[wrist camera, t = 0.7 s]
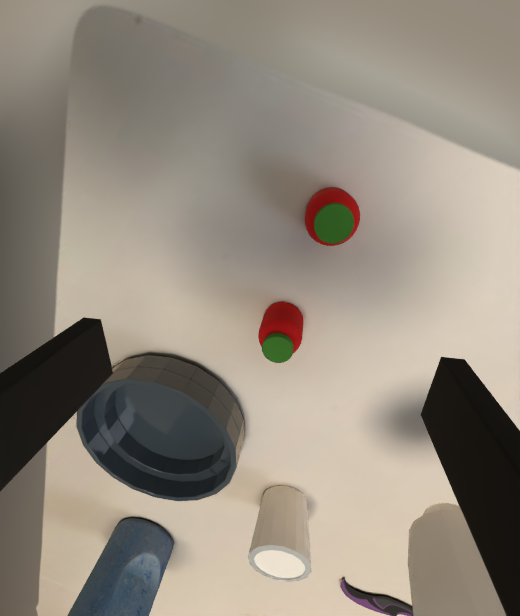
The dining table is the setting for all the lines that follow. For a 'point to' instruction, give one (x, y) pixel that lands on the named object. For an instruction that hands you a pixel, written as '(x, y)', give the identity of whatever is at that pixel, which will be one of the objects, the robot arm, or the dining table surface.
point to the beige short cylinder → (282, 536)
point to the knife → (377, 602)
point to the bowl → (163, 428)
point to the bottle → (126, 572)
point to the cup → (448, 567)
